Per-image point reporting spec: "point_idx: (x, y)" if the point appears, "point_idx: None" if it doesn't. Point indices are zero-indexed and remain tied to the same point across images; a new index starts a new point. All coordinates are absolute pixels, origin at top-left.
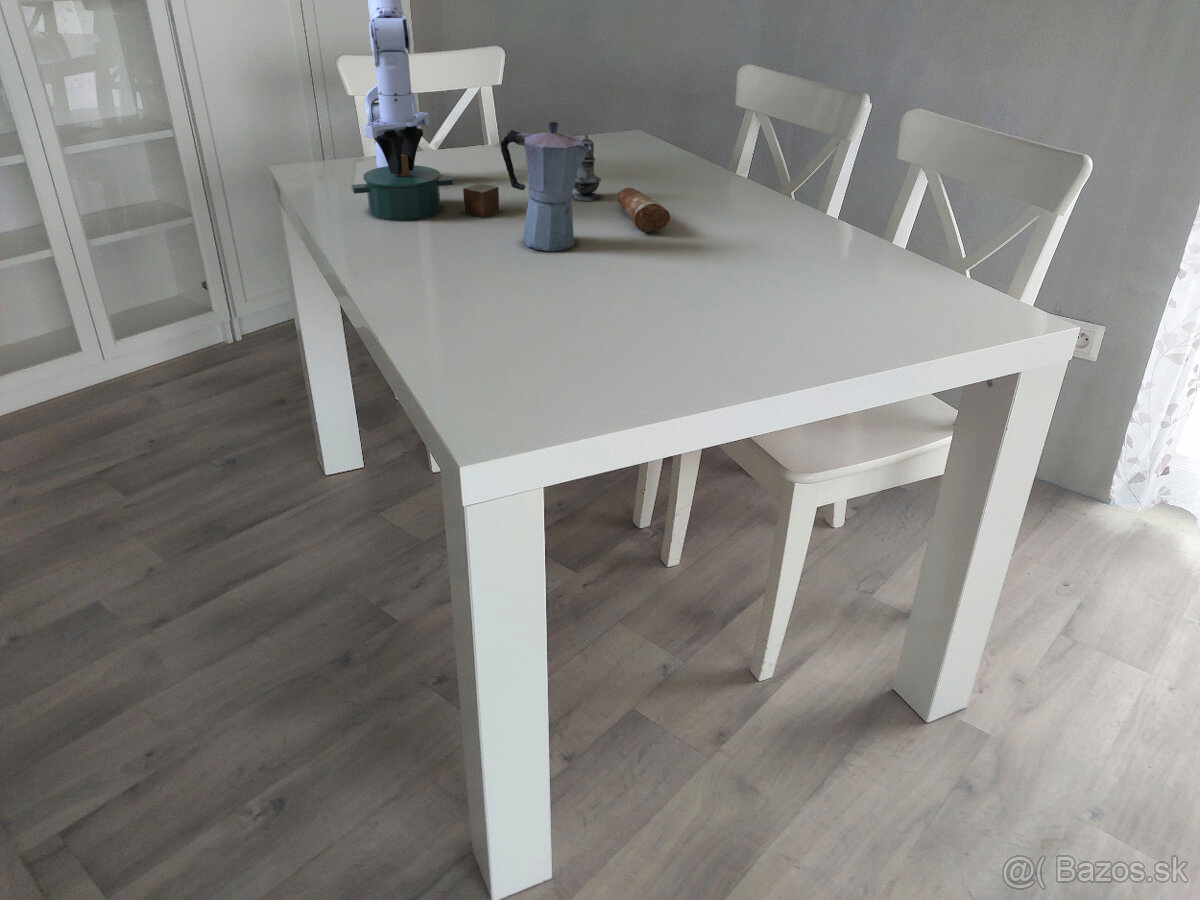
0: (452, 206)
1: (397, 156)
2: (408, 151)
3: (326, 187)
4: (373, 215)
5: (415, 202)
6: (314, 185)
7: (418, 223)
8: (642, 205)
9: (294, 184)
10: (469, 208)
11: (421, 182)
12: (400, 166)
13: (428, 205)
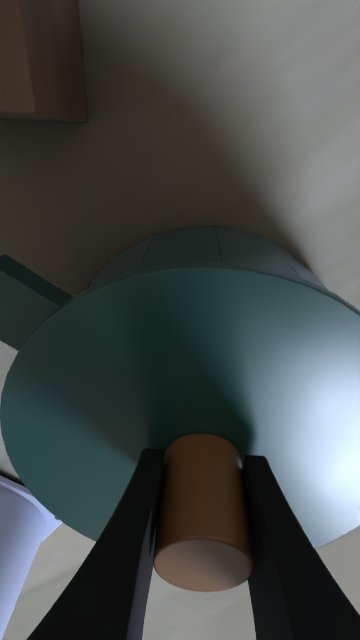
0: (49, 242)
1: (325, 569)
2: (142, 578)
3: (153, 580)
4: None
5: (301, 272)
6: (157, 597)
7: (324, 209)
8: None
9: (176, 618)
10: (75, 74)
11: (299, 288)
12: (265, 491)
13: (229, 240)
